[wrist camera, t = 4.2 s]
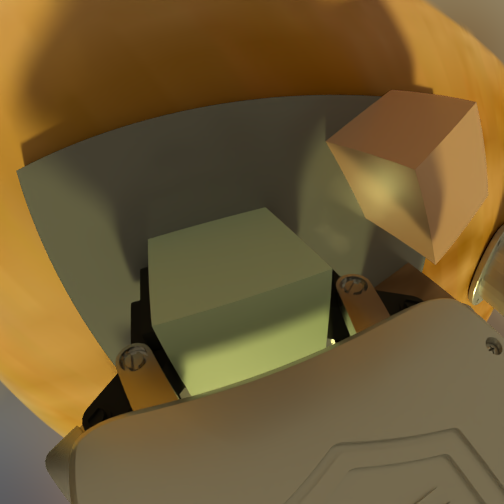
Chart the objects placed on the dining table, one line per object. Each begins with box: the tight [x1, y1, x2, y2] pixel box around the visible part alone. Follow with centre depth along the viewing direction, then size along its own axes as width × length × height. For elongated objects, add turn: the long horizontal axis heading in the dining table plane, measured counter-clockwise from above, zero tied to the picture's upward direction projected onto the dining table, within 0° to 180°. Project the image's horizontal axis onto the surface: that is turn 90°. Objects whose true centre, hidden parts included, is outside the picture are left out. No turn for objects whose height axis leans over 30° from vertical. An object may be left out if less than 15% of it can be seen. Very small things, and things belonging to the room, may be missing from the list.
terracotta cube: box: [326, 90, 488, 265], centre depth 10 cm, size 5×5×5 cm
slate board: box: [17, 95, 425, 366], centre depth 15 cm, size 22×20×1 cm
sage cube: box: [148, 207, 332, 396], centre depth 10 cm, size 5×5×5 cm
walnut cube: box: [374, 263, 456, 302], centre depth 16 cm, size 5×5×5 cm
